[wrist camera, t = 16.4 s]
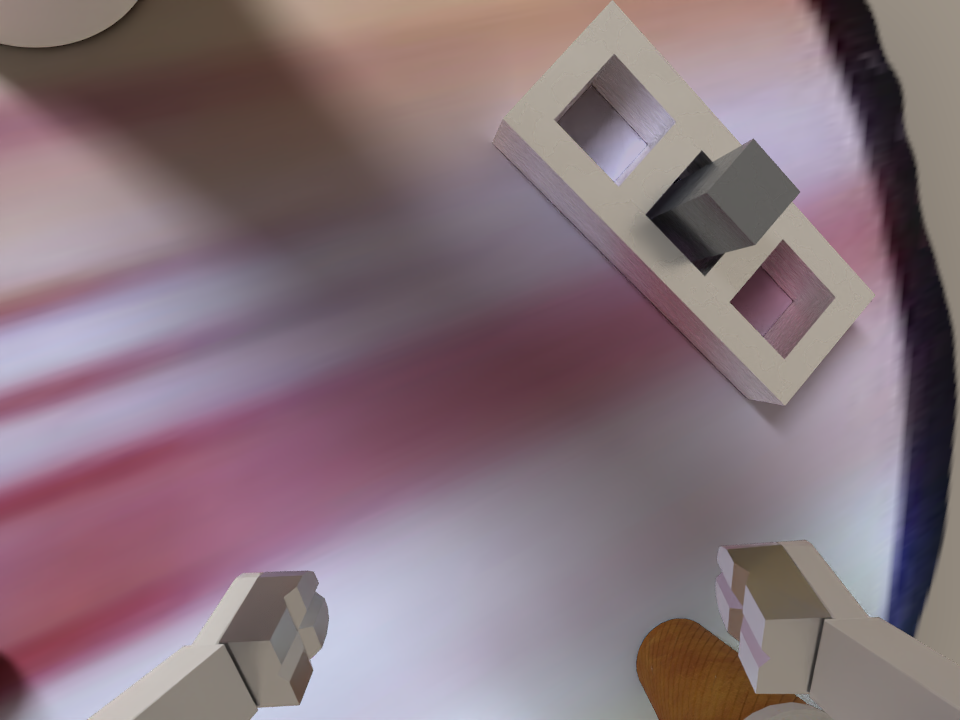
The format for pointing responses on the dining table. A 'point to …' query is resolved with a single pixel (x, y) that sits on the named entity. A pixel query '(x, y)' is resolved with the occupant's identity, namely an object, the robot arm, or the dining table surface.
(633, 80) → the rail
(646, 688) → the disposable coffee cup
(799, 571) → the robot arm
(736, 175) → the peg
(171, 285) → the dining table surface
